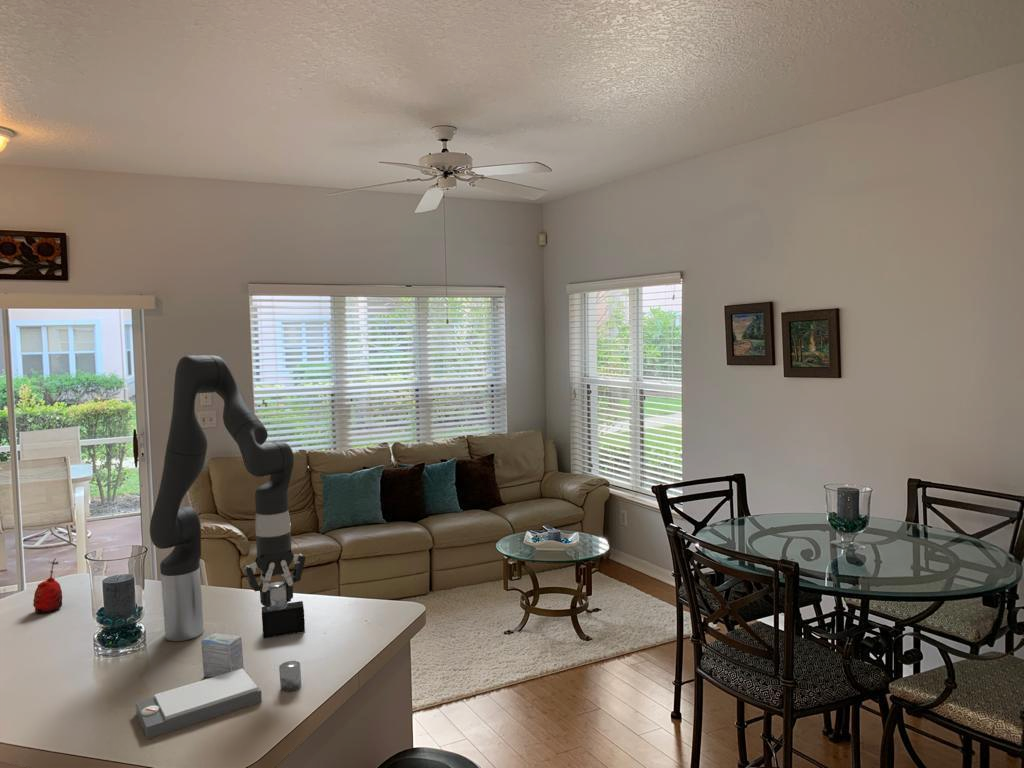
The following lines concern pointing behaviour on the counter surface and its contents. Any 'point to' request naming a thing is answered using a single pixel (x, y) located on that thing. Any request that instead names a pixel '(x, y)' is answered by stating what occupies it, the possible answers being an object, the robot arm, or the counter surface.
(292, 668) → the cylinder
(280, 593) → the cylinder
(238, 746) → the counter surface
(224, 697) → the scale
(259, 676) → the counter surface
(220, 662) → the medicine box
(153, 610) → the counter surface
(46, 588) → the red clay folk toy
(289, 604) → the digital camera
